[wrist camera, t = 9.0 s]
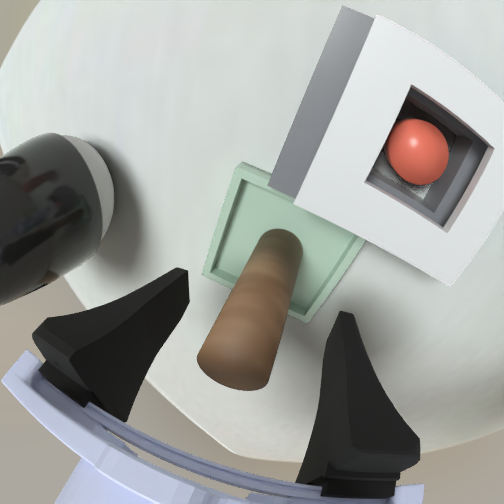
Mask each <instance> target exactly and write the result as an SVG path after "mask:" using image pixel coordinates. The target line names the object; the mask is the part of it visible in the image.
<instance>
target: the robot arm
mask: <svg viewBox="0 0 504 504" xmlns="http://www.w3.org/2000/svg"><path fill="white" fill-rule="evenodd" d="M189 302H190V300H189V282H188V270H184V269H181V268H175V269H173V270H171V271H169V272H168V273H166V274H164V275H162V276H161V277H159V278H157V279H156V280H154V281H152V282H150V283H148V284H147V285H145V286H143V287H141V288H139V289H137V290H136V291H134V292H132V293H130V294H128V295H126V296H124V297H122V298H119V299H117V300H115V301H112V302H110V303H107V304H105V305H102V306H99V307H96V308H93V309H90V310H86V311H83V312H79V313H74V314H69V315H64V316H57V317H49V318H47V319H46V320H45V321H44V322H43V323H42V324H41V325H40V326H39V327H38V328H37V329H36V330H35V331H34V332H33V333H32V338H33V340H34V342H35V344H36V346H37V347H38V349H39V350H40V352H41V353H42V355H43V356H44V358H45V359H46V361H45V363H44V364H43V363H42V362H41V361H40V360H39V359H38V358H37V357H36V356H35V355H33V354H32V353H31V352H30V351H29V350H26V351H25V352H24V353H23V354H22V355H21V357H20V358H19V359H18V360H17V361H16V362H15V364H14V365H13V366H12V367H11V369H10V370H9V371H8V372H7V373H6V375H5V376H4V377H3V379H2V383H3V384H4V385H5V386H6V387H7V388H8V389H9V391H10V392H11V393H12V394H13V395H14V396H15V397H16V398H17V399H18V400H19V402H20V403H21V404H22V405H23V406H24V407H25V408H26V409H27V410H28V411H29V412H30V413H31V414H32V415H33V416H34V417H35V418H36V419H37V420H38V421H39V422H40V423H41V424H42V425H44V426H45V427H46V428H47V429H48V430H49V431H50V432H51V433H52V434H53V435H55V436H56V437H57V438H58V439H60V441H62V442H63V443H64V444H65V445H67V446H68V447H69V448H71V449H72V450H73V451H74V452H75V453H77V454H78V455H79V456H81V457H82V458H81V459H80V461H79V463H78V465H77V466H76V468H75V469H74V471H73V473H72V474H71V476H70V478H69V479H68V481H67V483H66V484H65V486H64V488H63V489H62V491H61V493H60V495H59V496H58V498H57V500H56V501H55V503H54V504H423V495H424V484H412V485H400V486H396V481H397V480H399V479H400V472H401V471H404V470H406V469H407V468H410V467H412V466H414V465H415V464H417V463H418V461H419V460H420V438H419V437H418V436H417V435H416V434H415V433H414V432H413V430H412V429H411V428H410V427H409V426H408V425H407V423H406V422H405V421H404V420H403V418H402V417H401V416H400V414H399V413H398V412H397V410H396V409H395V407H394V405H393V404H392V402H391V401H390V399H389V398H388V396H387V395H386V393H385V391H384V389H383V387H382V386H381V384H380V382H379V380H378V378H377V376H376V374H375V371H374V369H373V367H372V365H371V362H370V360H369V358H368V355H367V352H366V350H365V347H364V345H363V342H362V339H361V336H360V333H359V330H358V327H357V324H356V321H355V317H354V315H353V314H352V313H347V312H343V311H340V312H339V314H338V317H337V319H336V321H335V324H334V326H333V328H332V330H331V332H330V335H329V337H328V339H327V342H326V347H325V353H324V358H323V367H322V378H321V388H320V398H319V405H318V410H317V415H316V419H315V423H314V427H313V431H312V434H311V438H310V441H309V445H308V448H307V451H306V454H305V457H304V460H303V463H302V466H301V469H300V471H299V474H298V477H297V479H296V482H295V483H292V482H287V481H282V480H276V479H272V478H267V477H263V476H259V475H255V474H251V473H247V472H243V471H240V470H236V469H233V468H229V467H226V466H223V465H220V464H217V463H214V462H211V461H208V460H205V459H203V458H200V457H197V456H194V455H192V454H189V453H187V452H184V451H182V450H180V449H177V448H175V447H173V446H170V445H168V444H166V443H163V442H161V441H159V440H157V439H155V438H153V437H151V436H149V435H147V434H145V433H143V432H141V431H139V430H137V429H135V428H133V427H131V426H129V425H127V424H126V423H125V422H127V420H128V416H129V414H130V411H131V408H132V406H133V403H134V401H135V398H136V396H137V393H138V391H139V389H140V386H141V384H142V382H143V380H144V378H145V376H146V374H147V372H148V370H149V368H150V366H151V364H152V362H153V360H154V358H155V357H156V355H157V353H158V352H159V350H160V349H161V347H162V346H163V344H164V343H165V342H166V340H167V339H168V337H169V336H170V334H171V333H172V331H173V330H174V329H175V327H176V326H177V324H178V323H179V321H180V320H181V318H182V316H183V314H184V312H185V310H186V308H187V306H188V304H189ZM107 430H108V431H110V432H111V433H113V434H115V435H116V436H118V437H120V438H121V439H123V440H125V441H127V442H128V443H130V444H132V445H134V446H136V447H138V448H140V449H142V450H144V451H146V452H148V453H150V454H152V455H154V456H156V457H158V458H160V459H162V460H164V461H167V462H169V463H172V464H173V465H176V466H178V467H181V468H183V469H186V470H188V471H191V472H193V473H196V474H199V475H202V476H204V477H207V478H210V479H213V480H216V481H219V482H223V483H226V484H229V485H232V486H236V487H239V488H243V489H247V490H251V491H255V492H259V493H263V494H257V493H250V494H249V496H248V497H246V499H242V498H239V497H236V496H232V495H230V494H226V493H223V492H220V491H218V490H215V489H212V488H209V487H206V486H204V485H201V484H198V483H196V482H193V481H191V480H188V479H186V478H183V477H181V476H178V475H176V474H174V473H171V472H169V471H167V470H165V469H163V468H160V467H158V466H156V465H154V464H152V463H150V462H148V461H146V460H144V459H142V458H140V457H138V455H137V454H136V453H135V452H133V451H132V450H131V449H130V448H128V447H127V446H126V444H125V443H124V442H122V441H121V440H120V439H118V438H117V437H115V436H114V435H112V434H111V433H109V432H108V431H107ZM395 486H396V487H395ZM264 494H268V495H264ZM272 495H273V496H272Z"/></svg>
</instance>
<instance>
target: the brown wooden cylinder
mask: <svg viewBox="0 0 504 504" xmlns="http://www.w3.org/2000/svg"><path fill="white" fill-rule="evenodd" d="M302 253H303V248H302V244H301V242H300V240H299V239H298V237H297V236H296V235H295V234H293V233H292V232H290V231H288V230H285V229H271V230H268V231H266V232H265V233H264V234H263V235H262V236H261V237H260V239H259V241H258V243H257V244H256V246H255V248H254V250H253V252H252V254H251V256H250V258H249V259H248V261H247V263H246V265H245V267H244V269H243V271H242V273H241V274H240V276H239V278H238V280H237V282H236V284H235V286H234V287H233V289H232V291H231V293H230V295H229V297H228V299H227V301H226V302H225V304H224V306H223V308H222V310H221V312H220V314H219V316H218V317H217V319H216V321H215V323H214V325H213V327H212V329H211V331H210V332H209V334H208V336H207V338H206V340H205V342H204V344H203V345H202V347H201V349H200V351H199V353H198V355H197V362H198V365H199V366H200V368H201V369H202V371H203V372H204V373H205V374H206V375H207V376H209V377H210V378H211V379H213V380H214V381H216V382H218V383H220V384H222V385H224V386H226V387H229V388H233V389H237V390H243V391H253V390H258V389H261V388H263V387H265V386H266V385H267V383H268V381H269V378H270V374H271V371H272V368H273V364H274V361H275V357H276V354H277V350H278V347H279V343H280V340H281V336H282V332H283V329H284V325H285V321H286V318H287V314H288V310H289V306H290V302H291V298H292V295H293V291H294V287H295V283H296V279H297V274H298V270H299V266H300V262H301V258H302Z"/></svg>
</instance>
